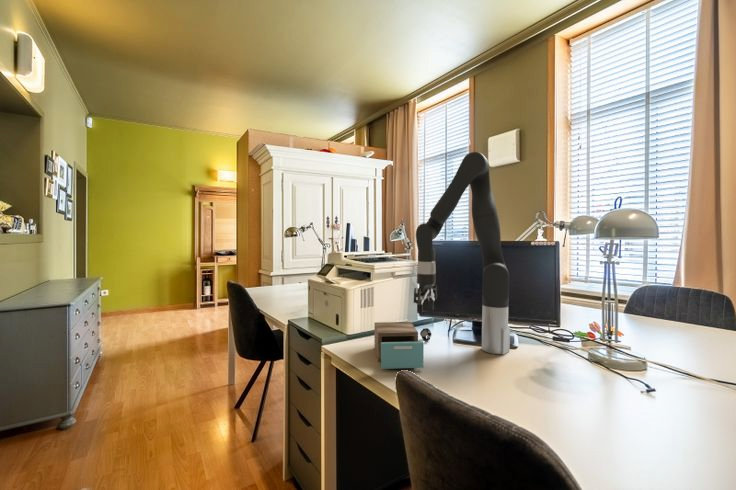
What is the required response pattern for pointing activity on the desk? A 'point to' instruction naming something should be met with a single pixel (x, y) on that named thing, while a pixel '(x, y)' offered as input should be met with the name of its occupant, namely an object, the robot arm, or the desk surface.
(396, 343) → the teal pull-out drawer
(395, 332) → the drawer box
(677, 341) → the desk surface
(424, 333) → the smartwatch
